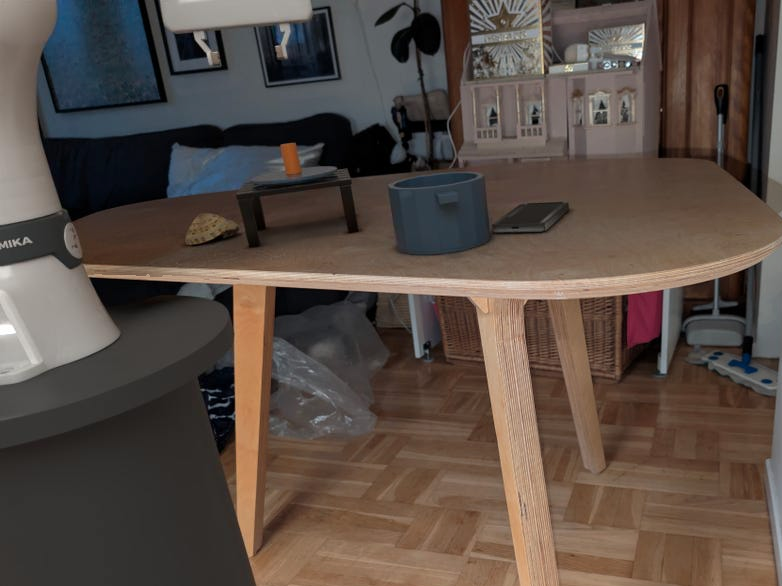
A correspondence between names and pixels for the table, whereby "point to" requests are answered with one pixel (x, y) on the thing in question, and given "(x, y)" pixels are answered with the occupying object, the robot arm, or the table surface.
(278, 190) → the rack
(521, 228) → the phone
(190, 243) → the seashell
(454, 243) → the pot
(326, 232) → the table surface
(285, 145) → the lid
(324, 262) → the table surface
